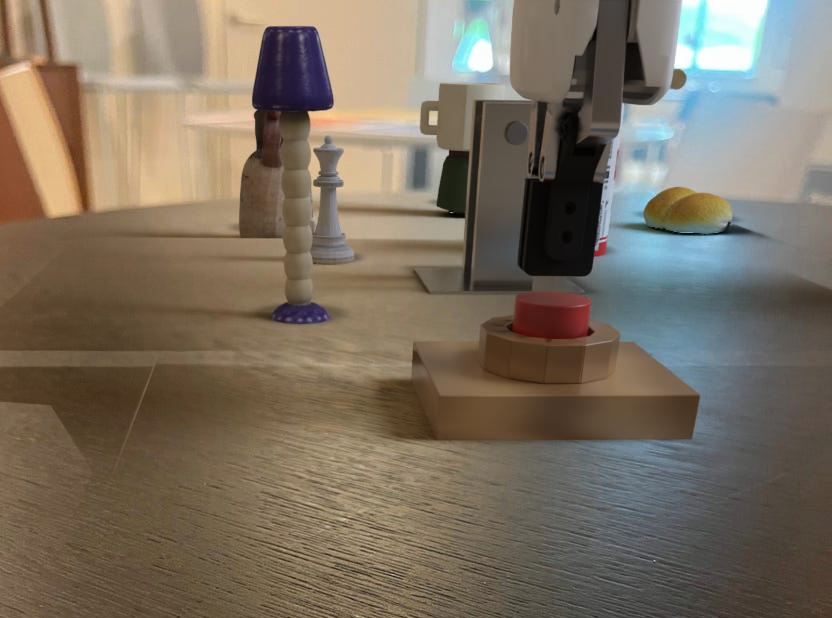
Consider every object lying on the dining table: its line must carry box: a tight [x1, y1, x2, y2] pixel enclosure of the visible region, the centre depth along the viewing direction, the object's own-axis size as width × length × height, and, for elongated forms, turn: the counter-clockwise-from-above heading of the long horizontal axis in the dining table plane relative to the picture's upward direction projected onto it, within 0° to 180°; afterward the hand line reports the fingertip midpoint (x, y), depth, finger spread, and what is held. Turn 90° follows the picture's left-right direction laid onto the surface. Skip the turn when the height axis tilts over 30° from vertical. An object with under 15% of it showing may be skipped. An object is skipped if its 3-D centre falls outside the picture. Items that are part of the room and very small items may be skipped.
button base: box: [410, 314, 701, 442], centre depth 50 cm, size 12×10×4 cm
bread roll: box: [643, 186, 733, 233], centre depth 107 cm, size 8×9×4 cm
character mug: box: [419, 82, 506, 213], centre depth 112 cm, size 11×7×13 cm, turn 76°
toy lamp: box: [251, 25, 335, 325], centre depth 60 cm, size 5×5×17 cm
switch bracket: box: [414, 99, 586, 296], centre depth 73 cm, size 11×9×13 cm
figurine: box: [238, 109, 317, 240], centre depth 93 cm, size 7×7×12 cm
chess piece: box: [310, 134, 356, 265], centre depth 80 cm, size 4×4×10 cm
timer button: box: [512, 291, 592, 339], centre depth 49 cm, size 4×4×2 cm
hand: (553, 272), depth 48 cm, fingers closed
